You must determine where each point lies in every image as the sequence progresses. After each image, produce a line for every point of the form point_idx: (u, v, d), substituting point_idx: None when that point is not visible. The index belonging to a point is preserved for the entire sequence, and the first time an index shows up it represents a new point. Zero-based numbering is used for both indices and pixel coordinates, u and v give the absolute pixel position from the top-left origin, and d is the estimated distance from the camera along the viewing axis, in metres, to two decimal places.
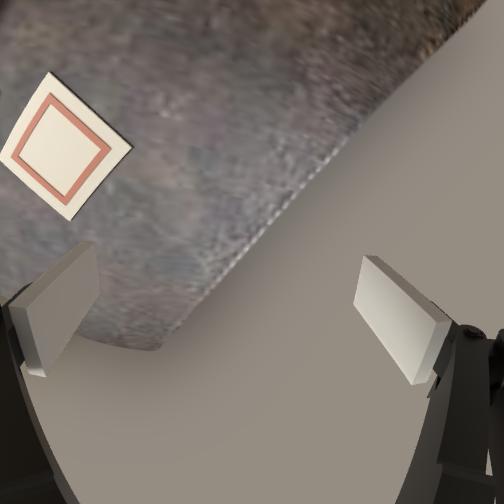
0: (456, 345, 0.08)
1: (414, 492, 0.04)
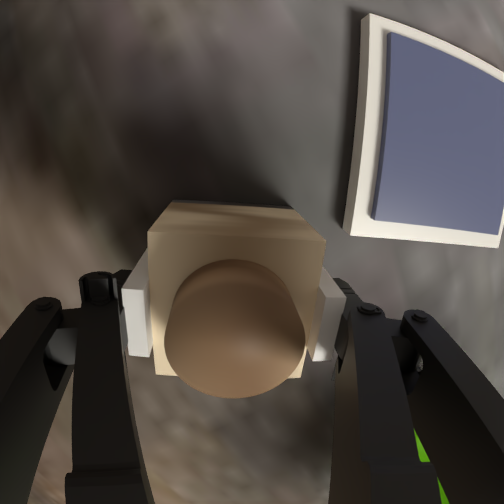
0: (352, 326, 0.09)
1: (346, 489, 0.05)
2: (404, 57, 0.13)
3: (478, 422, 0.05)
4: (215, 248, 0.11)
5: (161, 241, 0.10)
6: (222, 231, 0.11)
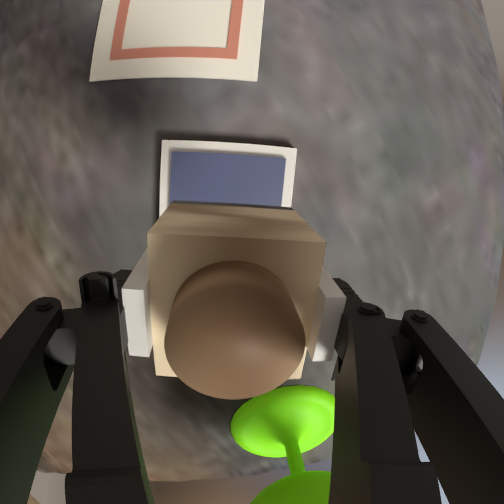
0: (352, 326, 0.09)
1: (346, 489, 0.05)
2: (179, 166, 0.27)
3: (478, 422, 0.05)
4: (215, 249, 0.11)
5: (161, 242, 0.10)
6: (223, 232, 0.11)
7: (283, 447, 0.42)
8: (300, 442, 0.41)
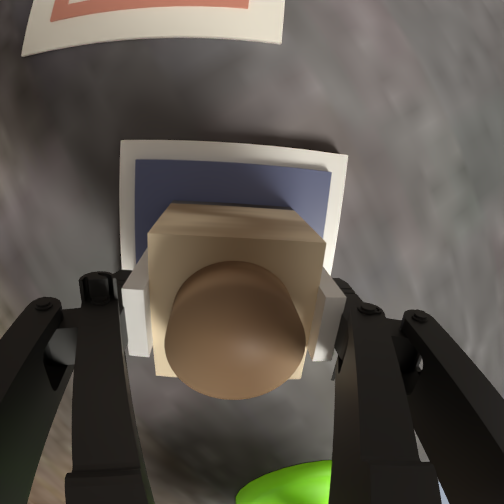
0: (352, 326, 0.09)
1: (346, 489, 0.05)
2: (149, 185, 0.16)
3: (479, 423, 0.05)
4: (215, 250, 0.11)
5: (161, 243, 0.10)
6: (223, 233, 0.11)
7: None
8: None
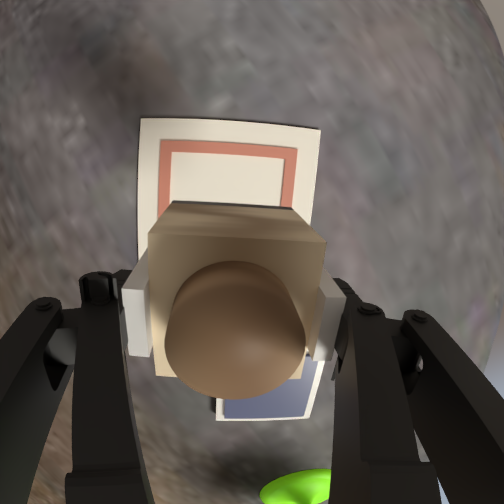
0: (352, 326, 0.09)
1: (346, 489, 0.05)
2: None
3: (479, 423, 0.05)
4: (215, 250, 0.11)
5: (161, 243, 0.10)
6: (223, 233, 0.11)
7: None
8: None
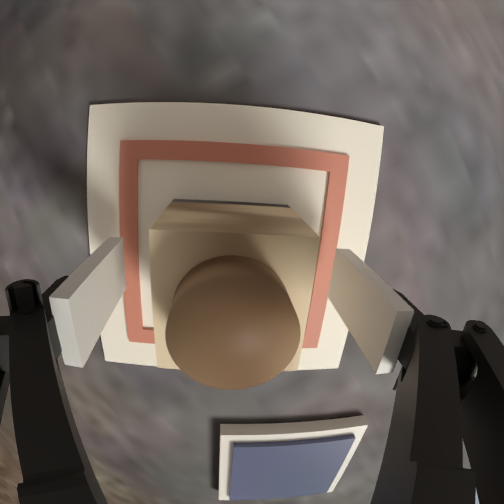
0: (419, 336, 0.09)
1: (390, 489, 0.05)
2: (242, 456, 0.22)
3: None
4: (214, 245, 0.11)
5: (162, 238, 0.11)
6: (221, 229, 0.11)
7: None
8: None
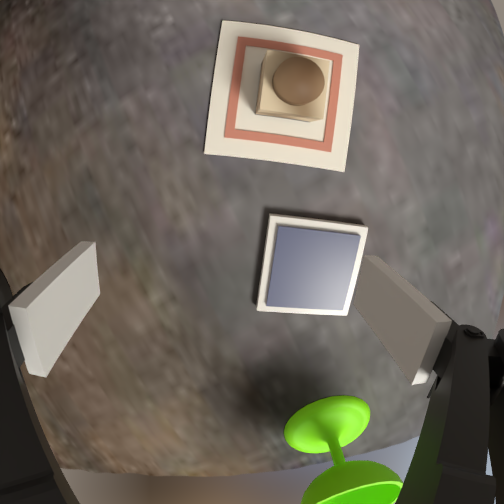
0: (456, 345, 0.08)
1: (414, 492, 0.04)
2: (283, 238, 0.36)
3: None
4: (290, 57, 0.26)
5: (271, 53, 0.26)
6: (292, 55, 0.26)
7: (323, 444, 0.51)
8: None
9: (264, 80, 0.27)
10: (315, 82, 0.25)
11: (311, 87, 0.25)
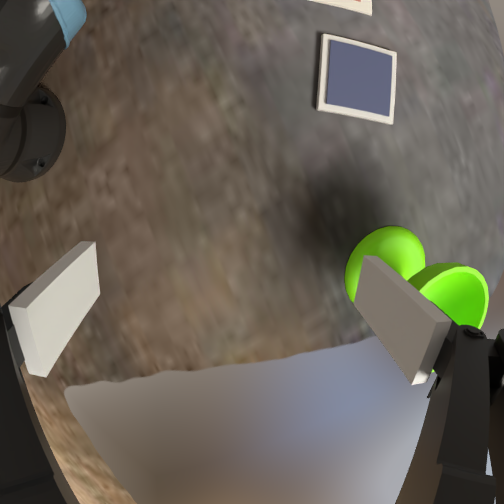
0: (456, 345, 0.08)
1: (414, 492, 0.04)
2: (335, 48, 0.38)
3: None
4: None
5: None
6: None
7: None
8: None
9: None
10: None
11: None
